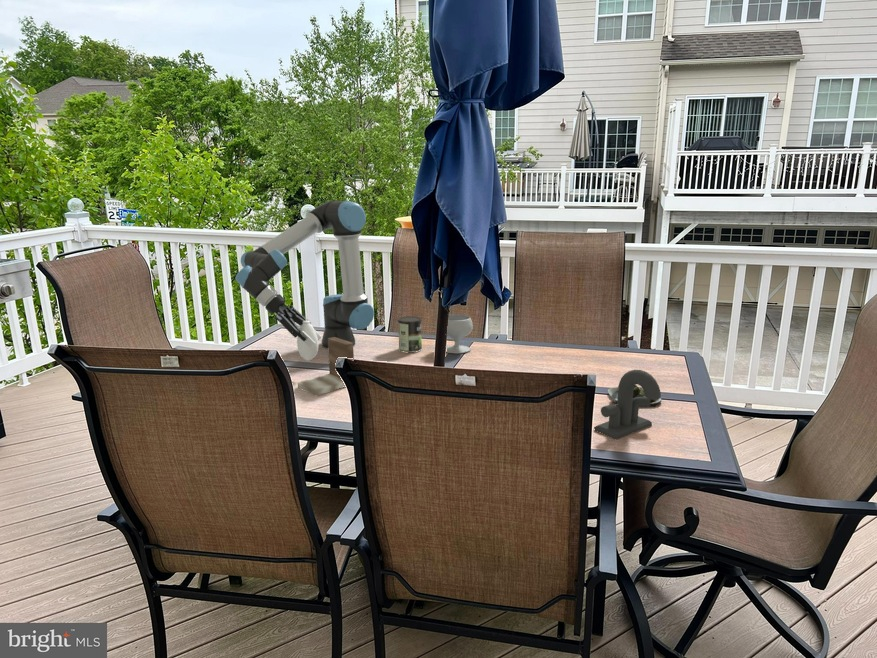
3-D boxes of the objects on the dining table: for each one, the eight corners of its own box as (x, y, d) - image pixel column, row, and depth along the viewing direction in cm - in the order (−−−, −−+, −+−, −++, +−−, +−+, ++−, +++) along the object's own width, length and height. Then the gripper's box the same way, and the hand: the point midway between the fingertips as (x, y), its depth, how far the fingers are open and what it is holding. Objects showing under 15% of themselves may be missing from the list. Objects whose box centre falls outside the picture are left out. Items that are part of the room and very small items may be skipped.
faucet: (635, 449, 176) (641, 383, 171) (592, 431, 188) (596, 368, 183) (673, 433, 186) (679, 370, 181) (630, 416, 199) (634, 357, 194)
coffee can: (423, 347, 277) (423, 316, 273) (419, 353, 267) (419, 322, 263) (401, 346, 278) (400, 315, 275) (396, 352, 268) (395, 321, 265)
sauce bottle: (322, 360, 235) (319, 315, 230) (302, 364, 231) (298, 317, 227) (315, 355, 242) (312, 310, 237) (295, 358, 238) (292, 313, 233)
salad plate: (598, 388, 225) (599, 376, 224) (647, 388, 225) (648, 376, 224) (612, 408, 206) (613, 395, 205) (665, 408, 206) (667, 395, 205)
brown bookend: (336, 376, 238) (334, 336, 234) (354, 384, 230) (353, 343, 226) (297, 387, 227) (294, 345, 223) (315, 395, 219) (313, 352, 214)
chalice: (456, 344, 281) (456, 311, 277) (479, 350, 271) (479, 317, 267) (434, 350, 271) (434, 317, 267) (457, 357, 262) (457, 322, 258)
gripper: (275, 301, 242) (318, 341, 245) (254, 313, 223) (301, 357, 225) (287, 287, 240) (330, 328, 243) (267, 299, 221) (314, 343, 223)
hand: (316, 342), depth 234 cm, fingers closed on sauce bottle, 7 cm apart
